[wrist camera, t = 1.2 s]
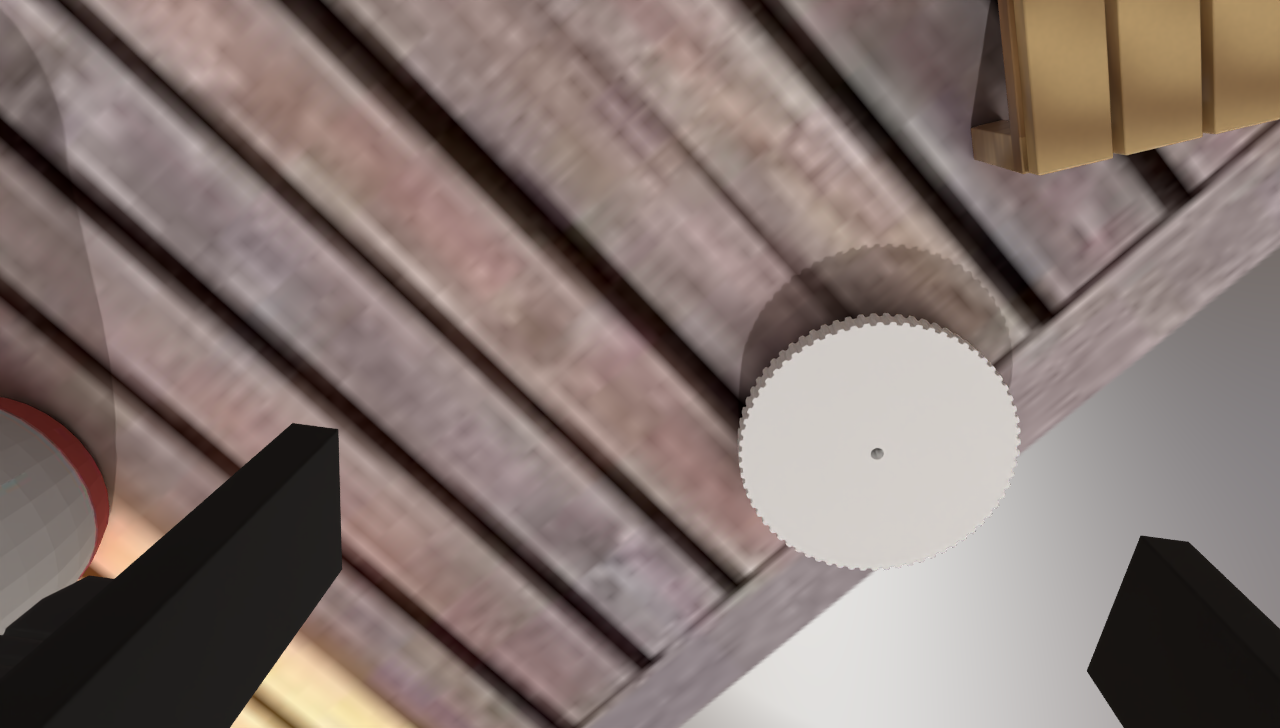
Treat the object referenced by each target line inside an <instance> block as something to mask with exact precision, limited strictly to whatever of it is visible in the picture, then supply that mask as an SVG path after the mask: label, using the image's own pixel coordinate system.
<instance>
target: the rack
mask: <svg viewBox="0 0 1280 728" xmlns="http://www.w3.org/2000/svg"><path fill="white" fill-rule="evenodd" d="M998 7H999V17H1000V28H1001V38H1002V48H1003V59H1004V69H1005V80H1006V90H1007V101H1008V111H1009V121H1007V120H1000V121H996V122H992V123H988V124H984V125H980V126H976V127H972V128H971V135H972V144H973V153H974V159H975V160H978V161H982V162H985V163H988V164H992V165H995V166H998V167H1002V168H1005V169H1008V170H1012V171H1015V172H1018V173H1022V174H1026V173H1032V174H1036V175H1044V174H1048V173H1052V172H1056V171H1061V170H1065V169H1069V168H1073V167H1078V166H1082V165H1086V164H1090V163H1095V162H1099V161H1103V160H1108V159H1111V158H1113V153H1117V154H1122V155H1129V154H1133V153H1138V152H1142V151H1146V150H1150V149H1155V148H1159V147H1163V146H1167V145H1172V144H1176V143H1180V142H1184V141H1189V140H1193V139H1197V138H1201V137H1202V136H1203V133H1210V134H1219V133H1223V132H1227V131H1231V130H1236V129H1240V128H1244V127H1248V126H1253V125H1257V124H1261V123H1265V122H1270V121H1274V120H1278V119H1280V0H998ZM1110 105H1111V111H1110ZM1111 123H1112V124H1111Z"/></svg>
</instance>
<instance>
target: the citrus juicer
mask: <svg viewBox="0 0 1280 728" xmlns="http://www.w3.org/2000/svg"><path fill="white" fill-rule="evenodd" d="M108 517H109V501H108V493H107V489H106V486H105V483H104V480H103V477H102V474H101V472H100V470H99V469H98V467H97V465H96V463H95V461H94V460H93V458H92V456H91V455H90V454H89V452H88V451H87V450H86V449H85V447H84V446H83V445H82V444H81V442H80V441H79V440H78V439H77V438H76V437H75V436H74V435H73V434H72V433H71V432H69V431H68V430H67V429H66V428H65V427H64V426H63V425H61V424H60V423H59V422H57V421H56V420H54V419H53V418H51V417H50V416H48V415H47V414H45V413H43V412H41V411H39V410H37V409H35V408H33V407H31V406H29V405H27V404H24V403H21V402H18V401H15V400H12V399H9V398H3V397H0V635H3V634H4V632H5V628H7V627H8V626H9V625H10V624H12V623H13V622H14V621H15V620H17V619H18V618H19V617H20V616H21V615H23V614H24V613H25V612H26V611H28V610H29V609H30V608H31V607H33V606H34V605H35V604H36V603H38V602H39V601H40V600H41V599H43V598H45V597H47V596H49V595H51V594H53V593H55V592H57V591H59V590H61V589H63V588H65V587H67V586H69V585H71V584H73V583H75V582H77V580H78V579H79V578H80V577H81V576H82V575H83V574H84V572H85V571H86V569H87V568H88V567H89V565H90V564H91V562H92V560H93V558H94V556H95V554H96V552H97V550H98V547H99V545H100V543H101V540H102V538H103V535H104V532H105V530H106V527H107V524H108Z"/></svg>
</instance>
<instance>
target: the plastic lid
mask: <svg viewBox="0 0 1280 728" xmlns="http://www.w3.org/2000/svg"><path fill="white" fill-rule="evenodd" d="M798 339H799V341H798V342H797V343H793V342H792V343H790V344H789V345H788V347H789V348H788V349H787V350H786V351H784V350H782V351H780V352H779V357H778V358H777V359H775V358H773V359H772V360H771V361H770V363H771V366H770V367H769V368H767V367H765V368H764V369H763V376H762V377H758V378H757V379H756V384H757V385H756V386H755V387H752V388H751V390H750V393H751V396H750V397H747V398H746V407H743V409H742V416H743V417H742V418H740V421H739V424H740V428H739V429H738V440H737V444H738V458H739V467H740V474H741V478H742V480H743V486H744V488H745V489H746V495H747V497H748V498H750V501H751V506H752V507H753V508H756V514H757V515H758V517H762V522H763V523H764V525H769V529H770V531H771V532H772V533H777V538H778V539H779V540H785V541H786V545H787V546H789V547H791V546H793V547H795V551H797V552H798V553H800V552H804V553H805V556H806V557H808V558H810V557H811V556H812V557H815V560H816V561H818V562H821V561H822V560H823V561H826V564H827V565H832V564H837V567H839V568H843V566H847V567H848V568H849V569H851V570H854V568H860V570H864V571H865V570H866V569H867V568H871V569H872V570H873V571H876V570H878V568H883V569H884V570H889V569H890V567H893V566H895V567H896V568H901V566H902V565H904V564H907V566H910V565H913V562H916V561H918V562H919V563H921V562H924V559H925V558H927V557H930V558H931V559H932V558H934V557H935V556H936V554H937V553H939V552H940V553H945V552H946V549H947V548H949V547H952V548H953V547H955V546H956V545H957V544H956V543H957V542H958V541H960V540H961V541H964V540H965V539H967V538H966V536H967V535H968V534H969V533H970V534H973V533H974V532H976V530H975V528H976V527H977V526H982V525H983V524H984V521H983V520H984V519H985V518H986V517H990V516H991V515H992V512H991V511H992V509H993V508H997V507H998V506H999V503H998V501H999V499H1000V498H1001V499H1002V498H1004V497H1005V493H1004V490H1005V489H1006V488H1009V487H1010V485H1011V484H1010V482H1009V479H1010V478H1013V477H1014V474H1015V473H1014V472H1013V468H1014V467H1017V464H1018V462H1017V461H1016V460H1015V459H1016V456H1019V454H1020V451H1019V450H1018V449H1017V446H1018V445H1020V444H1021V440H1020V439H1019V438H1018V436H1017V435H1018V434H1020V433H1021V432H1020V428H1019V427H1018V426H1017V423H1018V422H1019V417H1018V416H1017V415H1016V414H1015V412H1016V411H1017V408H1016V406H1015V405H1014V404H1013V403H1012V402H1011V401H1013V397H1012V395H1011V394H1010V393H1009V392H1008V390H1009V388H1008V386H1007V385H1006V384H1005V383H1004V382H1003V381H1002V380H1003V378H1002V377H1001V375H1000V374H999V373H998V372H997V371H996V369H995V368H994V366H993V365H992V364H991V363H990V362H989V361H988V360H987V359H986V358H985V357H984V356H983V355H982V354H981V353H980V352H979V351H978V350H977V349H976V348H975V347H973V346H972V345H971V344H970V343H969V342H968V341H966V340H963V339H962V338H961V337H960V336H959V335H958V334H956V333H954V334H953V333H952V332H951V331H950V330H949V329H948V328H946V327H944V328H943V329H942V328H941V327H940V326H939V325H938V324H937V323H934V322H933V323H932V324H930V323H929V322H928V321H927V320H925V319H920V320H919V321H918V320H917V319H916V318H915V317H914V316H908V318H904V317H903V316H902V314H896V315H895V316H894V317H893V316H891V315H890V314H889V313H883V315H882V316H878V315H877V314H876V313H872V314H870V316H869V317H865V316H864V315H863V314H862V315H858V316H857V318H855V319H852V318H851V317H846V318H845V321H842V322H839V321H838V320H835V321H833V324H832V325H830V326H827V325H826V324H824V325H822V326H821V329H820V330H818V331H816V330H814V329H813V330H811V331H809V335H808V336H806V337H805V336H803V335H802V336H800V337H799V338H798Z"/></svg>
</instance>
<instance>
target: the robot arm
mask: <svg viewBox="0 0 1280 728" xmlns="http://www.w3.org/2000/svg"><path fill="white" fill-rule="evenodd" d="M341 570H342V551H341V513H340V475H339V438H338V429H332V428H325V427H317V426H310V425H302V424H295V423H292V424H291V425H290V426H289V427H288V428H287V429H285V430H284V431H283V432H282V433H281V434H280V435H279V436H277V437H276V438H275V439H274V440H273V441H272V442H271V443H269V444H268V445H267V446H266V447H265V448H264V449H262V450H261V451H260V452H259V453H258V454H257V455H256V456H254V457H253V458H252V459H251V460H250V461H249V462H248V463H246V464H245V465H244V466H243V467H242V468H241V469H240V470H238V471H237V472H236V473H235V474H234V475H233V476H232V477H230V478H229V479H228V480H227V481H226V482H225V483H224V484H222V485H221V486H220V487H219V488H218V489H217V490H216V491H214V492H213V493H212V494H211V495H210V496H209V497H208V498H206V499H205V500H204V501H203V502H202V503H201V504H200V505H198V506H197V507H196V508H195V509H194V510H193V511H192V512H190V513H189V514H188V515H187V516H186V517H185V518H184V519H182V520H181V521H180V522H179V523H178V524H177V525H176V526H174V527H173V528H172V529H171V530H170V531H169V532H168V533H166V534H165V535H164V536H163V537H162V538H161V539H160V540H158V541H157V542H156V543H155V544H154V545H153V546H152V547H150V548H149V549H148V550H147V551H146V552H145V553H144V554H142V555H141V556H140V557H139V558H138V559H137V560H136V561H134V562H133V563H132V564H131V565H130V566H129V567H128V568H126V569H125V570H124V571H123V572H122V573H121V574H120V575H118V576H117V577H116V578H115V579H110V578H103V577H96V576H87V577H85V578H83V579H81V580H79V581H77V582H75V583H73V584H71V585H69V586H67V587H65V588H63V589H61V590H59V591H57V592H55V593H53V594H51V595H49V596H47V597H45V598H43V599H41V600H40V601H39V602H38V603H36V604H35V605H34V606H33V607H31V608H30V609H29V610H28V611H26V612H25V613H24V614H23V615H21V616H20V617H19V618H18V619H17V620H15V621H14V622H13V623H12V624H10V625H9V626H8V627H7V628H5V632H4V634H3V635H0V728H230V727H231V725H232V724H233V722H234V721H235V720H236V718H237V717H238V715H239V714H240V713H241V711H242V710H243V708H244V707H245V705H246V704H247V703H248V701H249V700H250V698H251V697H252V696H253V694H254V693H255V691H256V690H257V689H258V687H259V686H260V684H261V683H262V682H263V680H264V679H265V677H266V676H267V674H268V673H269V672H270V670H271V669H272V667H273V666H274V665H275V663H276V662H277V660H278V659H279V658H280V656H281V655H282V653H283V652H284V650H285V649H286V648H287V646H288V645H289V643H290V642H291V641H292V639H293V638H294V636H295V635H296V634H297V632H298V631H299V629H300V628H301V626H302V625H303V624H304V622H305V621H306V619H307V618H308V617H309V615H310V614H311V612H312V611H313V610H314V608H315V607H316V605H317V604H318V602H319V601H320V600H321V598H322V597H323V595H324V594H325V593H326V591H327V590H328V588H329V587H330V586H331V584H332V583H333V581H334V580H335V579H336V577H337V576H338V574H339V573H340V571H341ZM1087 672H1088V674H1089V675H1090V677H1091V678H1092V679H1093V681H1094V683H1095V684H1096V686H1097V687H1098V689H1099V690H1100V692H1101V693H1102V695H1103V697H1104V698H1105V700H1106V701H1107V702H1108V704H1109V706H1110V707H1111V709H1112V710H1113V712H1114V713H1115V715H1116V716H1117V718H1118V720H1119V721H1120V723H1121V724H1122V725H1123V727H1124V728H1280V629H1279V628H1278V627H1277V626H1276V625H1275V624H1274V623H1273V622H1272V621H1271V620H1270V619H1269V618H1268V617H1267V616H1266V615H1265V614H1264V613H1263V612H1261V611H1260V610H1259V609H1258V608H1257V607H1256V606H1255V605H1254V604H1253V603H1252V602H1251V601H1250V600H1249V599H1248V598H1247V597H1246V596H1245V595H1244V594H1243V593H1242V592H1241V591H1240V590H1238V589H1237V588H1236V587H1235V586H1234V585H1233V584H1232V583H1231V582H1230V581H1229V580H1228V579H1227V578H1226V577H1225V576H1224V575H1223V574H1222V573H1221V572H1220V571H1218V569H1216V568H1215V567H1214V566H1213V565H1212V564H1211V563H1210V562H1209V561H1208V560H1207V559H1206V558H1205V557H1204V556H1203V555H1202V554H1201V553H1200V552H1199V551H1198V550H1197V549H1195V548H1194V547H1193V546H1192V545H1191V544H1190V543H1189V542H1185V541H1178V540H1170V539H1163V538H1155V537H1148V536H1140V538H1139V541H1138V544H1137V546H1136V549H1135V551H1134V554H1133V556H1132V559H1131V561H1130V564H1129V566H1128V569H1127V572H1126V574H1125V576H1124V579H1123V581H1122V584H1121V586H1120V589H1119V591H1118V594H1117V596H1116V599H1115V601H1114V604H1113V606H1112V609H1111V611H1110V614H1109V616H1108V619H1107V621H1106V624H1105V627H1104V629H1103V632H1102V634H1101V637H1100V639H1099V642H1098V644H1097V647H1096V649H1095V652H1094V654H1093V657H1092V659H1091V662H1090V664H1089V667H1088V669H1087Z"/></svg>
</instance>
